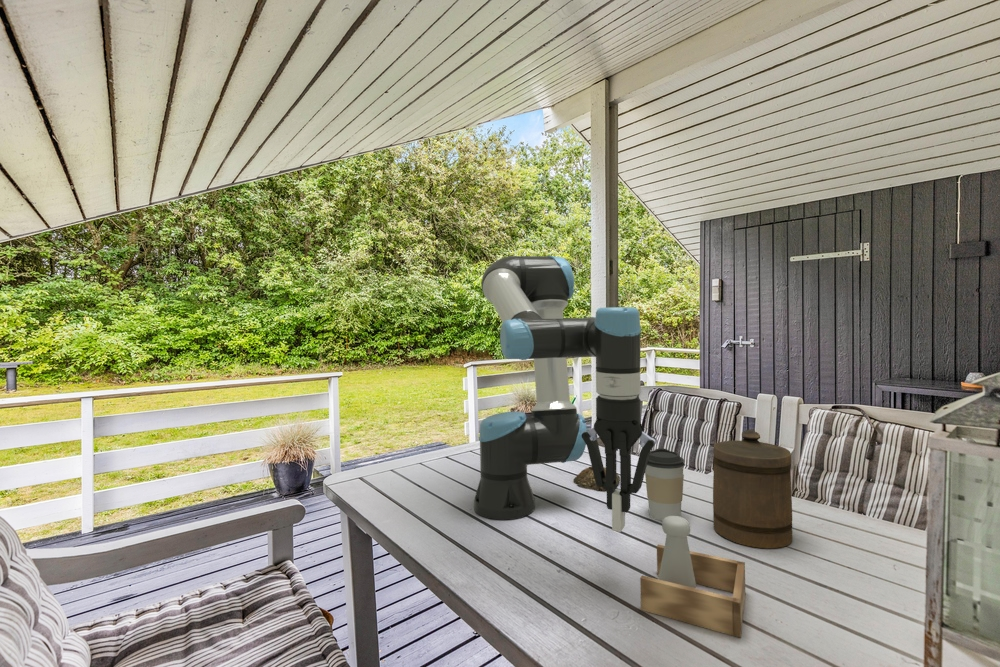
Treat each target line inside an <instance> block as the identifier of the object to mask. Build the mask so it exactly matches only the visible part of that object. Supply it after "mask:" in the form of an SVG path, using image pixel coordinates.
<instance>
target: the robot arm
mask: <svg viewBox="0 0 1000 667" xmlns="http://www.w3.org/2000/svg"><path fill="white" fill-rule="evenodd" d="M480 282H481V283H480V284H481V290H482V293H483V295H484V297H485V299H486V300H487V301H488V302H489V303H491V304H493V306H494V308H495V311H496V312H497V314H498V316H499V318H500V321H501V325H500V330H499V332H500V333H499V334H500V335H499V336H500V337H499V341H500V342H499V343H500V347H501V349H500V350H501V354H502V355H503V357H504V358H505V359H508V360H521V361H526V360H533V368H534V382H535V398H536V403H535V405H534V406H533V407H532V408H531V417H527V414H526V413H525V412H523V411H517V410H516V411H506V412H505V411H504V412H499V413H494V414H492V415H489V416H487V417H485V418H483V419H482V421H481V422H480V423H479V424H480V425H479V434H478V435H479V436H478V441H479V458H480V461H479V462H480V463H479V464H480V477H479V478H480V479H479V482H478V485H477V489H476V492H475V496H474V500H473V505H474V507H473V508H474V511H475V513H476V514H478V515H479V516H481V517H484V518H488V519H493V520H514V519H520V518H523V517H527V516H529V515H530V514H532V513H533V512H534V511H535V510H536V509H535V507H536V505H535V504H536V501H535V500H536V499H535V496H534V493H533V490H532V487H531V483H530V481H529V478H528V466H529V465H530V466H531V465H541V464H542V465H543V464H544V465H545V464H553V463H555V464H556V463H562V464H565V463H568V462H573V461H577V460H578V459H580V458H581V457H582V456H583V455H584V452H585V450H586V447H587V452H588V457H589V460H590V464H591V467H592V469H593V473H594V478H595V482H596V485H597V486H598V487H602V488H604V489H605V490H606V491H605V492H606V507H607V510H610V511H611V517H612V518H611V522H612V524H611V525H612V526H611V527H612V528H611V530H612V531H615V532H618V533H621V532H622V531H623V529H624V528H625V527H626V513H628V512H629V511H630V509H631V495H632V494H637V493H638V492H639V491H640V489H641V488H642V486H643V482H644V477H645V470H646V467H647V463H648V459H649V455H650V451H652V450H653V448H654V446H655V445H656V444H657V442H658V441H657V438H656V437H654V436H650V435H648V434H647V433H646V432H644V429H645V428H644V427H643V425H642V422H641V408H642V407H641V399H640V397H639V395H640V394H642V393H641V392H642V391H641V390H642V389H641V388H642V387H641V339H642V338H641V336H642V335H641V332H642V327H641V320H640V319H641V318H640V317H641V316H640V314H641V313H640V311H639V309H638V308H637V307H633V306H629V307H628V306H624V307H623V306H622V307H621V306H619V307H617V306H616V307H611V306H610V307H600V308H598V309H596V311H595V316H591V317H588V316H587V317H578V318H577V317H575V318H572V317H571V318H570V317H569V318H567V317H566V318H564V310H565V309H566V307H567V306H568V305H569V302H568V301H569V300H570V299H572V298H573V295H574V291H575V288H574V287H575V277H574V272H573V269H572V266H571V264H570V262H569V261H568V260H567V259H566V258H565V257H562V256H553V255H544V256H543V255H542V256H540V255H539V256H538V255H532V256H530V255H525V256H522V255H521V256H520V255H518V256H517V255H509V256H505V257H502V258H500V259H498V260H496V261H494V262H493V263H492V264H490V265H489V266H487V268H486V269H485V271H484V273H483V275H482V278H481V281H480ZM590 357H592V358H595V392H596V394H598V395H597V396H596V398H595V418H596V420H595V421H594V424H593V427H591V429H587V424H586V419H585V417H584V416H583V415H582V414H580V413H578V408H577V406H576V405H575V404H573V403H572V402H571V397H570V386H569V385H570V384H569V373H568V372H569V371H568V360H567V358H590ZM598 438H599V439H600V440H601V442H602V444H603V445H604V454H605V467H604V462H603V458H602V454H601V450H600V447H599V442H598ZM638 440H640V444H639V445H640V447H641V450H640V452H639V456H638V459H637V460H638V461H637V464H636V468H635V472H634V474H633V479H632V447H634V445H635V444H636V443H637V442H638ZM617 450H618V452H619V453H618V454H619V458H620V459H619V460H620V461H619V462H620V463H619V464H620V465H619V466H620V467H619V470H620V471H619V472H620V474H619V476H620V481H619V483H618V484H616V473H617ZM578 461H579V460H578ZM604 468H606V475H605V471H604ZM619 484H620V488H616V487H617V486H619Z"/></svg>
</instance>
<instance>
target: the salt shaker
mask: <svg viewBox="0 0 1000 667" xmlns="http://www.w3.org/2000/svg"><path fill="white" fill-rule="evenodd" d="M661 527H662V532H664V534H666V536H665V542H664V543H665V544H664V546H665V547H664V552H663V557H662V562H661V567H660V572H659V575H658V578H657V579H659V580H663V581H667V582H671V583H675V584H679V585H683V586H688V587H692V588H696V587H697V584H696V582H695V577H694V572H693V566H692V561H691V556H690V551H691V550H690V546H689V541H688V537H689V535H690V534H691V525H690V522H689V521H688V520H687V519H686V518H685V517H683V516H681V517H679V516H668V517H665V518H664V519H663V521H661ZM696 589H697V588H696Z"/></svg>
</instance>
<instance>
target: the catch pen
mask: <svg viewBox="0 0 1000 667" xmlns="http://www.w3.org/2000/svg"><path fill="white" fill-rule="evenodd" d="M664 547H665V545H662V544H657V545H656V572H657V573H656V574H657V575H658V576H659V572H660V567H661V562H662V557H663V552H664ZM689 551H690V556H691V561H692V566H693V572H694V577H695V582H696V585H700V586H704V587H709V588H712V589H717V590H720V591H721V590H722V591H725V592H730V593H733V594H732V596H728V595H724V594H720V593H715V592H711V591H707V590H703V589H699V588H692V587H688V586H683V585H679V584H675V583H671V582H667V581H663V580H659V579H658V578H655V577H649V576H646V575H641V576H640V579H639V580H640V582H639V585H640V611H644V612H647V613H651V614H654V615H659V616H662V617H664V618H669V619H673V620H675V621H678V622H679V621H680V622H683V623H686V624H689V625H690V624H691V625H693V626H698V627H701V628H705V629H708V630H712V631H715V632H718V633H722V634H726V635H729V636H733V637H737V638H741V637H742V631H743V630H742V628H743V620H744V619H743V618H744V610H745V609H744V607H745V601H746V600H745V599H746V562H744V561H739V560H737V559H736V560H734V559H731V558H726V557H720V556H717V555H712V554H711V555H710V554H705V553H702V552H696V551H692V550H689Z"/></svg>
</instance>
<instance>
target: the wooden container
mask: <svg viewBox="0 0 1000 667" xmlns="http://www.w3.org/2000/svg"><path fill="white" fill-rule="evenodd" d="M741 437H742V440H724V441H719V442H716V443H714V445H713V480H712V482H713V484H712V506H713V507H712V509H713V510H712V511H713V517H712V518H713V519H712V520H713V529H714V531H715V532H716V533H717V534H719V536H721V537H723V538H725V539H727V540H728V541H731V542H733V543H735V544H738V545H739V544H740V545H742V546H745V547H751V548H757V549H781V548H784V547H787V546H789V545H790V544H792V542H793V499H792V478H791V469H792V453H791V451H790V450H789V449H787V448H786V447H783V446H780V445H776V444H773V443H767V442H763V441H762V442H761V441H759V439H761V435H760V433H759V432H756V430H755V429H746V430H744V431H742V432H741Z"/></svg>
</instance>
